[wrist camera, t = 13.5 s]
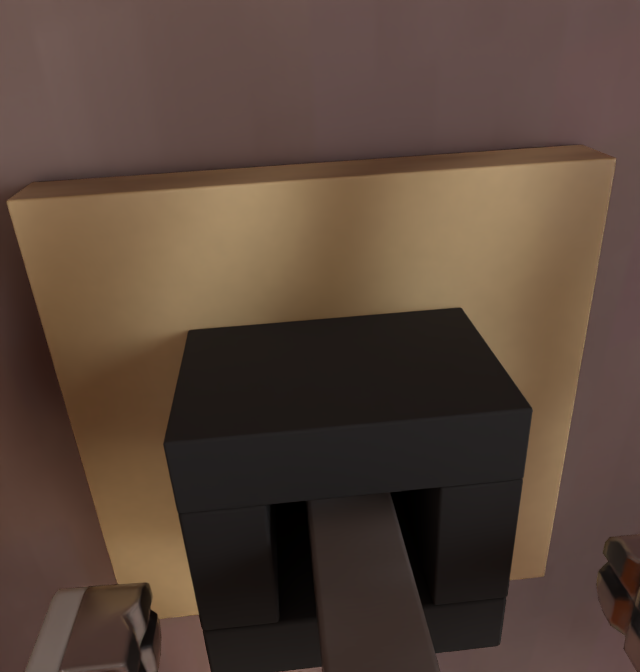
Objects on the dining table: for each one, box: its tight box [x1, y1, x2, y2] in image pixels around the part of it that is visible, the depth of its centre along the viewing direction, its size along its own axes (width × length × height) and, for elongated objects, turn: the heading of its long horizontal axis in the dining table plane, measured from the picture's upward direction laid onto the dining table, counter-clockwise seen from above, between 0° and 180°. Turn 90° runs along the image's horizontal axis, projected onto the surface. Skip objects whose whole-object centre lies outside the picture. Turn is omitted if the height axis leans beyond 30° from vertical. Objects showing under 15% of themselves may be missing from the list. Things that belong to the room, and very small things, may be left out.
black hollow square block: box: [163, 307, 533, 672], centre depth 13 cm, size 6×6×4 cm
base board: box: [6, 145, 616, 672], centre depth 12 cm, size 12×12×8 cm
